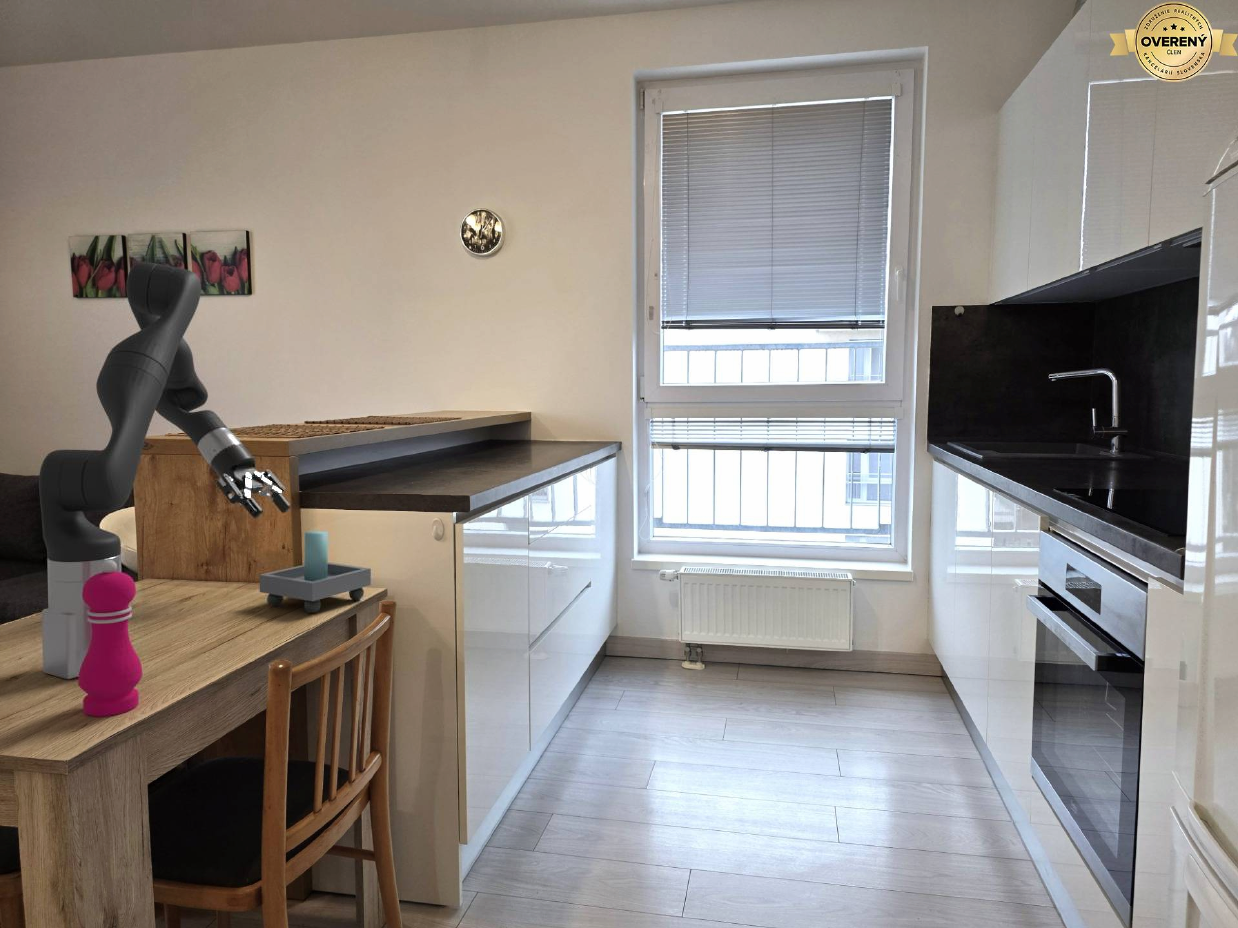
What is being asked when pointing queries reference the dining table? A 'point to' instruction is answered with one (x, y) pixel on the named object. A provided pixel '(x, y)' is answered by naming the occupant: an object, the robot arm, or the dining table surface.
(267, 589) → the grey square tray
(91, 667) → the pepper mill
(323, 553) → the teal cylinder
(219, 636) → the dining table surface
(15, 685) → the dining table surface
